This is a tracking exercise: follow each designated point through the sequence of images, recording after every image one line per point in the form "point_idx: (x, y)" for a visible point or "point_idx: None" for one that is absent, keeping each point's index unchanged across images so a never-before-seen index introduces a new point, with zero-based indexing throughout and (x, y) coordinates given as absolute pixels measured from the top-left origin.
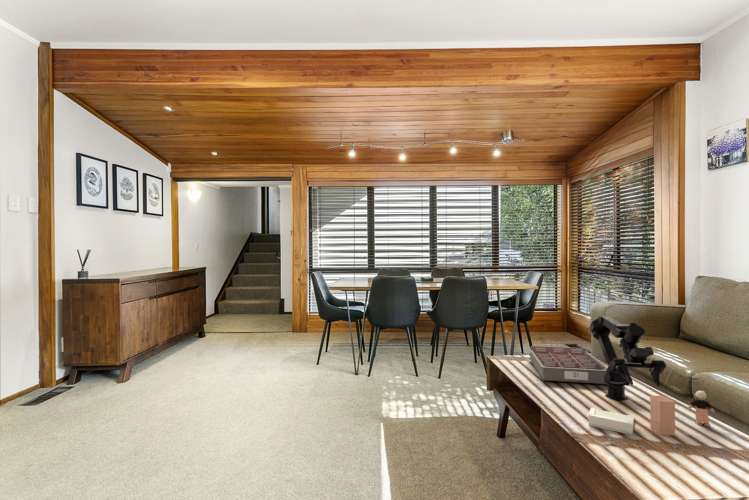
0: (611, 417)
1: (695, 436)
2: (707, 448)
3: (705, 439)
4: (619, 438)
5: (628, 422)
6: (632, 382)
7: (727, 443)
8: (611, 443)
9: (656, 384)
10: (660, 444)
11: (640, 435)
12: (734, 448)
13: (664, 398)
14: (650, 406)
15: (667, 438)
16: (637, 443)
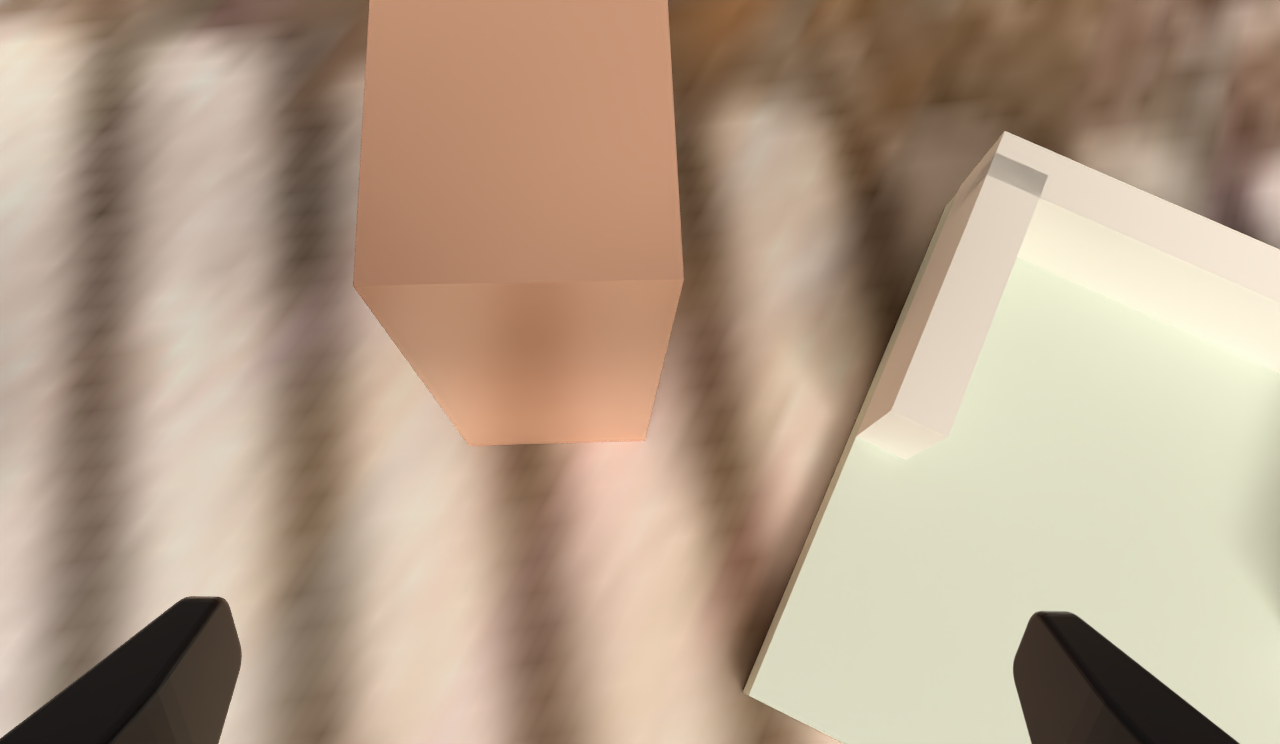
0: (1081, 612)
1: (245, 256)
2: (329, 8)
3: (186, 195)
4: (1108, 115)
5: (1039, 171)
6: (1067, 636)
7: (15, 131)
8: (1212, 9)
9: (217, 725)
10: (751, 38)
11: (864, 207)
12: (44, 34)
13: (464, 122)
14: (664, 352)
15: None
16: (967, 34)
